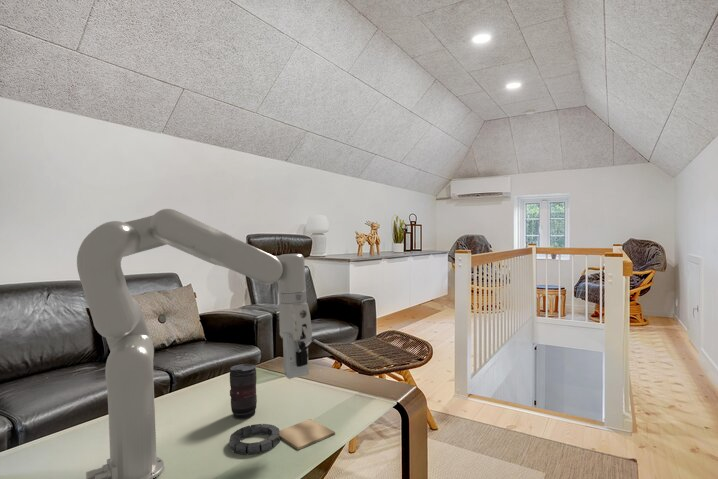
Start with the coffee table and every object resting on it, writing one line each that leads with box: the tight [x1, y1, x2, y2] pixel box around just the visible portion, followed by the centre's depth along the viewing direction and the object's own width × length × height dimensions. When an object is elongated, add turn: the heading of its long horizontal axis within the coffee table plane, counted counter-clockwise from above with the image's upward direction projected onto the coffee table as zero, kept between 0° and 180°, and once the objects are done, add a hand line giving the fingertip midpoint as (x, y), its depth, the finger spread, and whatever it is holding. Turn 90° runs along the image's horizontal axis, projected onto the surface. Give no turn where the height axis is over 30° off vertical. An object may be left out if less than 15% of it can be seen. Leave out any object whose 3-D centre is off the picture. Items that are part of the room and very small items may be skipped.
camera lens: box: [229, 363, 258, 420], centre depth 128 cm, size 8×8×15 cm
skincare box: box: [282, 332, 310, 380], centre depth 113 cm, size 6×4×12 cm
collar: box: [228, 423, 281, 456], centre depth 110 cm, size 13×13×2 cm
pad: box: [279, 418, 336, 451], centre depth 114 cm, size 12×12×1 cm
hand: (296, 362), depth 113 cm, fingers closed on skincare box, 5 cm apart
